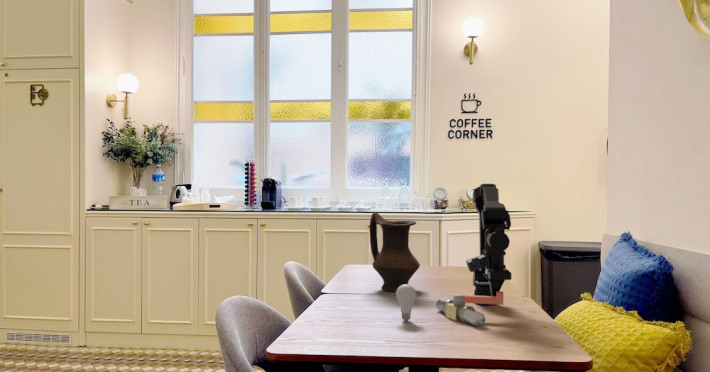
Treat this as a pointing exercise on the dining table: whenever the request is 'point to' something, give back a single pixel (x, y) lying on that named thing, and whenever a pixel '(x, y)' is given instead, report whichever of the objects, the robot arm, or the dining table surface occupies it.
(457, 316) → the valve
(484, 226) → the robot arm
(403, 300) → the lightbulb
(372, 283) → the dining table surface
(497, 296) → the lever
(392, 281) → the jug
